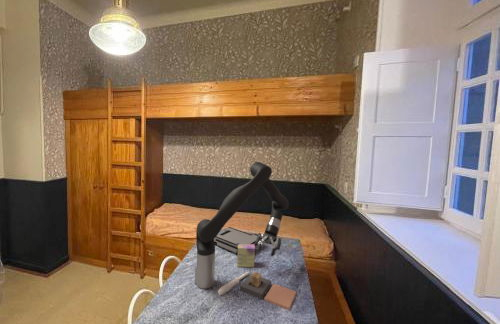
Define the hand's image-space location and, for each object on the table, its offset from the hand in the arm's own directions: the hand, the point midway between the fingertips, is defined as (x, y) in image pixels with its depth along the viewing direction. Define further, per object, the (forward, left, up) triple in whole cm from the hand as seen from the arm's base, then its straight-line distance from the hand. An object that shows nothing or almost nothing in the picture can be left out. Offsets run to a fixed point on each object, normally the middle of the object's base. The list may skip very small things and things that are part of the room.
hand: (264, 253), depth 116 cm
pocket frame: (0, -11, -13) cm, 17 cm away
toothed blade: (-11, -14, -14) cm, 22 cm away
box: (-14, +5, -14) cm, 20 cm away
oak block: (0, -11, -13) cm, 17 cm away
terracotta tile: (+14, -11, -13) cm, 22 cm away
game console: (-32, +23, -14) cm, 42 cm away
